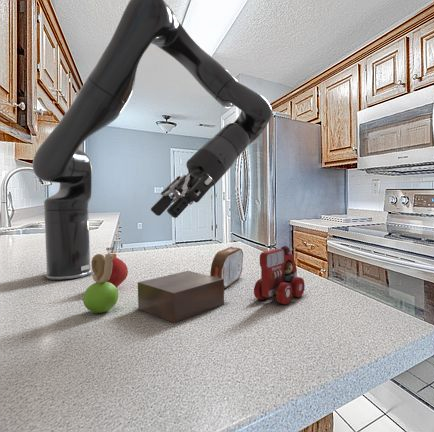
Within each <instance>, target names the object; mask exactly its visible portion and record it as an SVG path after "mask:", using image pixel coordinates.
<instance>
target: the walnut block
mask: <svg viewBox="0 0 434 432" xmlns="http://www.w3.org/2000/svg"><path fill="white" fill-rule="evenodd" d="M223 305H225V288H224V279H222V278H218V277H213V276H210V274H209V275H208V274H204V273H200V272H194V271H192V270H191V271H190V270H186V271H182V272H181V271H180V272H176V273H172V274H168V275H164V276H159V277H155V278H151V279H146V280H142V281H138V282H137V306H138V307H137V308H138V310H140V311H143V312H145V313H148V314H150V315H153V316H155V317H157V318H161V319H163V320H166V321H169V322H171V323H173V324H175V323H178V322H181V321H183V320H186V319H189V318H191V317H194V316H196V315H199V314H202V313H205V312H207V311H210V310H213V309H215V308H218V307H220V306H223Z"/></svg>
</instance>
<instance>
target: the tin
mask: <svg viewBox="0 0 434 432" xmlns="http://www.w3.org/2000/svg"><path fill="white" fill-rule="evenodd" d="M243 263H244V251H243V249H242V248H240V247H236V246H235V247H233V246H229V247H227V248H224V249H222V250H218V252H216V253H215V255H214V257H213V259H212V262H211V265H210V272H209V273H210V274H209V276H213V277H218V278H222V279H224V289H227V288H228V287H230V286H231V285H233V284H234V283H236V282H237V281H238V280H239V279H240V277H241V275H242V271H243V265H244V264H243Z"/></svg>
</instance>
